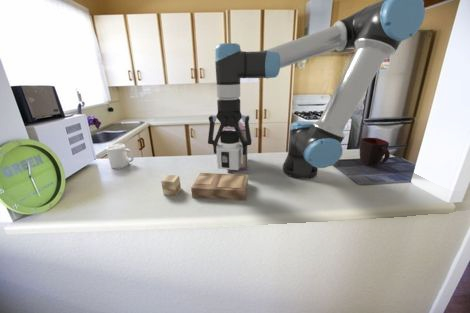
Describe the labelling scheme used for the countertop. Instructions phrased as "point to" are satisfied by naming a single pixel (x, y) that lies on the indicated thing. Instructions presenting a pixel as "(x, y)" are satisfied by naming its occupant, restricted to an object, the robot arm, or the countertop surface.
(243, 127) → the box
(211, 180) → the base board
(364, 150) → the mug
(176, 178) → the oak cube
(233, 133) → the container
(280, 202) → the countertop surface
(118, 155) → the cup
